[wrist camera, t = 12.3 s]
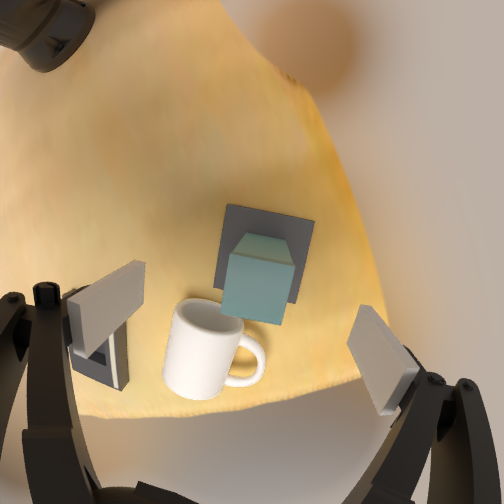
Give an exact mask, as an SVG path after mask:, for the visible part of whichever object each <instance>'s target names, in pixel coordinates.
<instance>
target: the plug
mask: <svg viewBox="0 0 504 504" xmlns="http://www.w3.org/2000/svg"><path fill="white" fill-rule="evenodd" d="M294 270H295V264H294V263H293V261H292V258H291V255H290V252H289V249H288V245H287V242H286V240H282V239H277V238H272V237H267V236H262V235H257V234H252V233H247V232H246V234H245V235H244V236H243V238H242V239H241V241H240V242H239V243H238V245H237V246H236V248H235V249H234V250H233V251H231V253H230V256H229V261H228V267H227V273H226V279H225V285H224V291H223V297H222V303H221V310H220V314H225V315H230V316H234V317H239V318H244V319H249V320H254V321H259V322H264V323H270V324H275V325H281V323H282V319H283V315H284V311H285V308H286V304H287V299H288V295H289V291H290V287H291V283H292V279H293V275H294Z"/></svg>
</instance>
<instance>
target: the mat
mask: <svg viewBox="0 0 504 504" xmlns="http://www.w3.org/2000/svg"><path fill="white" fill-rule="evenodd" d="M314 223H315V221H311V220H307V219H302V218H297V217H292V216H288V215H283V214H278V213H273V212H268V211H263V210H257V209H252V208H247V207H241V206H236V205H231V204H227V207H226V213H225V219H224V224H223V230H222V236H221V242H220V248H219V254H218V260H217V267H216V273H215V279H214V286H213V288H218V289H222V290H224V285H225V279H226V273H227V267H228V261H229V256H230V253H231V251H233V250H234V249H235V248H236V246H237V245H238V243H239V242H240V241H241V239H242V238H243V236H244V235H245V234H246V232H247V233H252V234H257V235H262V236H267V237H272V238H277V239H282V240H286V242H287V245H288V249H289V252H290V255H291V258H292V261H293V263H294V264H295V270H294V275H293V279H292V283H291V287H290V291H289V295H288V299H287V302H288V303H293V304H295V303H296V299H297V295H298V291H299V288H300V283H301V279H302V275H303V271H304V267H305V263H306V259H307V254H308V250H309V245H310V241H311V236H312V232H313V227H314Z"/></svg>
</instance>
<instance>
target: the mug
mask: <svg viewBox="0 0 504 504" xmlns="http://www.w3.org/2000/svg"><path fill="white" fill-rule="evenodd" d="M220 310H221V304H220V303H218V302H215V301H211V300H207V299H199V298H191V299H185V300H182V301H180V302H179V303H177V305H176V306H175V309H174V313H173V318H172V323H171V328H170V333H169V338H168V343H167V349H166V354H165V359H164V365H163V371H162V376H163V379H164V382H165V383H166V385H167V386H168V387H169V388H170V389H171V390H172V391H173V392H175V393H176V394H178V395H180V396H182V397H185V398H188V399H192V400H207V399H211V398H214V397H215V396H217V395H218V394H219V393H220V392H221V391H222V389H223V386H224V385H227V386H233V387H246V386H250V385H253V384H255V383H256V382H258V381H259V380H260V379H261V377H262V376H263V374H264V371H265V367H266V355H265V352H264V349H263V347H262V346H261V344H260V343H259V342H258V341H257V340H256V339H254V338H253V337H251V336H249V335H247V334H245V333H243V330H244V322H243V319H242V318H239V317H234V316H230V315H225V314H220ZM238 346H242V347H244V348H246V349H248V350H249V351H251V352H252V353H253V354H254V355H255V356H256V358H257V361H258V365H257V368H256V371H255V372H254V373H253V374H252V375H251V376H248V377H239V376H234V375H230V374H228V372H229V370H230V367H231V364H232V361H233V358H234V355H235V353H236V350H237V347H238Z"/></svg>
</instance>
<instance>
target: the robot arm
mask: <svg viewBox="0 0 504 504" xmlns="http://www.w3.org/2000/svg"><path fill="white" fill-rule="evenodd" d="M94 18H95V12H94V9H93V8H92V7H91V6H89V5H88V4H87V3H85V2H82V1H78V0H0V45H2V46H4V47H7V48H9V49H12V50H15V51H17V52H18V53H19V54H20V55H21V56H22V57H23V59H24V60H25V61H26V62H27V63H28V65H29V66H30V67H31V68H32V69H34V70H37V71H39V72H48V71H51V70H53V69H55V68H56V67H58V66H59V65H61V64H62V63H63V62H64V61H65V60H67V59H68V58H69V57H70V56H71V55H72V54H73V53H74V52H75V50H76V49H77V48H78V47H79V46H80V44H81V43H82V42H83V40H84V39H85V38H86V36H87V34H88V33H89V31H90V29H91V27H92V25H93V22H94ZM144 278H145V262H141V261H137V260H133V261H132V262H130V263H128V264H126V265H125V266H123V267H121V268H119V269H117V270H116V271H114V272H112V273H110V274H109V275H107V276H105V277H104V278H102V279H100V280H98V281H97V282H95V283H93V284H92V285H87V286H83V287H81V288H79V289H78V290H76V291H74V292H73V293H71V294H69V295H67V296H66V297H64V298H62V299H61V298H60V287H59V285H58V284H56V283H53V282H41V283H38V284H36V285H34V287H33V294H34V301H35V306H32V305H28V304H26V302H25V296H24V295H23V294H22V293H18V292H9V293H8V294H5V295H4V296H3V297H2V298H1V299H0V459H1V453H2V447H3V442H4V437H5V433H6V428H7V424H8V420H9V416H10V413H11V409H12V406H13V402H14V399H15V396H16V393H17V390H18V387H19V384H20V381H21V378H22V376H23V373H24V370H25V367H26V365H27V362H28V367H27V417H28V418H27V419H28V429H24V430H23V431H22V445H23V453H24V461H25V468H26V474H27V479H28V484H29V489H30V493H31V497H32V501H33V504H199V503H196V502H194V501H192V500H190V499H188V498H185V497H183V496H181V495H179V494H177V493H175V492H171V491H168V490H164V489H161V488H158V487H155V486H152V485H149V484H146V483H143V482H141V481H138V483H137V486H136V488H131V487H106V488H102V487H101V485H100V482H99V480H98V478H97V476H96V473H95V471H94V468H93V465H92V462H91V459H90V456H89V453H88V450H87V446H86V443H85V439H84V435H83V432H82V428H81V424H80V420H79V415H78V411H77V406H76V401H75V395H74V390H73V384H72V377H71V370H70V362H69V353H68V348H67V347H68V346H69V345H70V344H71V343H72V345H73V350H74V354H77V355H79V356H81V357H83V358H85V359H87V358H88V357H89V356H90V355H91V354H92V353H93V352H94V351H95V350H96V349H97V348H98V347H99V346H100V345H101V344H102V343H103V342H104V341H105V340H106V339H107V338H108V337H109V336H110V335H111V334H112V333H113V332H114V331H115V330H116V329H117V328H119V327H120V326H121V325H122V324H123V323H124V322H125V321H126V320H127V319H128V318H129V317H130V316H131V315H132V314H133V313H134V312H135V311H136V310H137V309H138V308H139V307H140V306H141V305H142V304H143V300H144ZM347 345H348V347H349V349H350V351H351V353H352V356H353V358H354V360H355V362H356V364H357V367H358V369H359V371H360V373H361V375H362V378H363V380H364V382H365V384H366V387H367V389H368V391H369V394H370V396H371V398H372V401H373V403H374V405H375V407H376V410H377V412H378V415H392V414H393V413H394V411H395V410H396V408H397V406H398V405H399V407H400V408H401V412H400V414H399V415H398V417H397V418H396V420H395V421H394V422H393V424H392V425H391V427H390V428H391V430H390V432H389V434H388V435H387V437H386V439H385V441H384V443H383V444H382V446H381V448H380V449H379V451H378V453H377V454H376V456H375V457H374V459H373V461H372V462H371V464H370V465H369V467H368V468H367V470H366V471H365V473H364V474H363V476H362V477H361V479H360V480H359V481H358V483H357V484H356V486H355V487H354V488H353V490H352V491H351V492H350V494H349V495H348V496H347V497H346V499H345V500H344V501H343V502H342V504H415V502H414V501H412V500H410V499H411V496H412V494H413V492H414V490H415V487H416V485H417V483H418V480H419V478H420V476H421V473H422V470H423V468H424V465H425V462H426V460H427V457H428V454H429V451H430V448H431V471H430V482H429V492H428V500H427V504H501V489H500V479H499V471H498V464H497V458H496V452H495V447H494V443H493V438H492V434H491V429H490V425H489V421H488V418H487V414H486V411H485V407H484V404H483V401H482V397H481V395H480V391H479V389H478V386H477V385H476V384H475V383H474V382H473V381H472V380H470V379H466V378H461V379H459V381H458V382H457V384H456V386H449V385H446V381H445V380H444V378H442V376H440V375H438V374H437V373H434V372H426V370H425V369H424V367H423V366H422V365H421V363H420V362H419V361H417V358H416V357H415V356H414V354H413V353H412V352H411V351H410V349H408V348H407V347H405V346H404V345H402V344H401V342H400V341H399V340H398V338H397V337H396V336H395V335H394V333H393V332H392V331H391V330H390V328H389V327H388V326H387V325H386V323H385V322H384V321H383V320H382V318H381V317H380V316H379V315H378V313H377V312H376V311H375V310H374V309H373V307H372V306H368V305H360V308H359V311H358V314H357V316H356V319H355V322H354V325H353V328H352V330H351V333H350V336H349V339H348V341H347Z"/></svg>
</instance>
